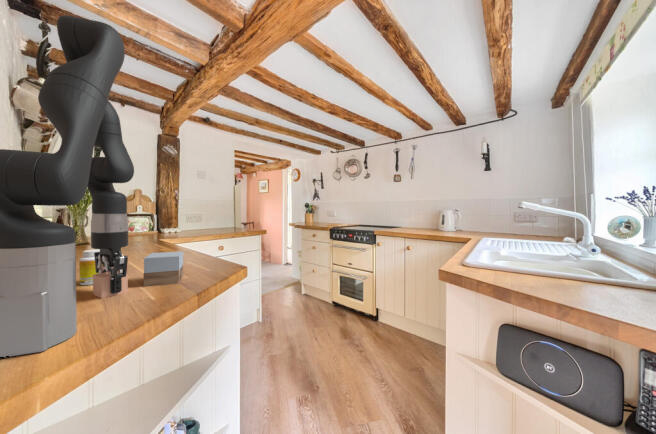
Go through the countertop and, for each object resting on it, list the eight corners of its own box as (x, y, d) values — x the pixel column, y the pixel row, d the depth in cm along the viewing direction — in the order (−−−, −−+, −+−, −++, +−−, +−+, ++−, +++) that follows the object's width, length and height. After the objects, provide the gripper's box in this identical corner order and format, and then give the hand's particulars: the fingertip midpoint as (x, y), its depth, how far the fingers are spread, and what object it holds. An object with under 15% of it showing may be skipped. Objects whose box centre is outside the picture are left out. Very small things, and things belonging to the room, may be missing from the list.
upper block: (179, 270, 74) (179, 256, 73) (144, 273, 70) (144, 258, 70) (183, 264, 82) (183, 251, 82) (152, 266, 78) (152, 252, 78)
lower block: (178, 284, 74) (178, 270, 74) (143, 287, 70) (143, 272, 70) (183, 276, 82) (183, 264, 82) (152, 279, 78) (152, 266, 78)
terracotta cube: (127, 292, 65) (127, 272, 65) (101, 298, 61) (101, 277, 60) (118, 288, 68) (118, 270, 68) (93, 294, 63) (92, 274, 63)
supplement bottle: (103, 283, 72) (103, 250, 72) (77, 287, 69) (77, 252, 68) (105, 279, 76) (105, 248, 76) (81, 282, 73) (81, 250, 73)
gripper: (139, 230, 64) (140, 291, 64) (115, 227, 70) (116, 282, 71) (103, 232, 57) (104, 300, 58) (80, 229, 64) (81, 290, 64)
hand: (110, 290), depth 64 cm, fingers closed on terracotta cube, 5 cm apart
